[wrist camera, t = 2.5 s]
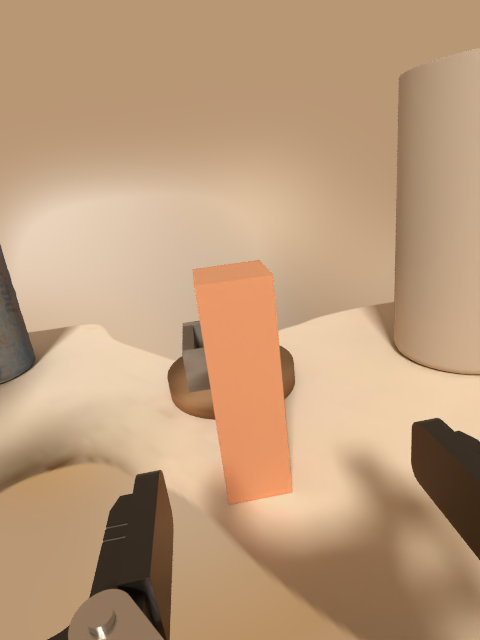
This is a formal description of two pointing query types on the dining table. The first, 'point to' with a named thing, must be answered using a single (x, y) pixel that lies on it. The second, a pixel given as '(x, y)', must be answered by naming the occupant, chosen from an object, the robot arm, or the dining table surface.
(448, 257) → the cylinder vase
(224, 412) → the post
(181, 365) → the block holder stand
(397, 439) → the dining table surface
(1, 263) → the bottle
